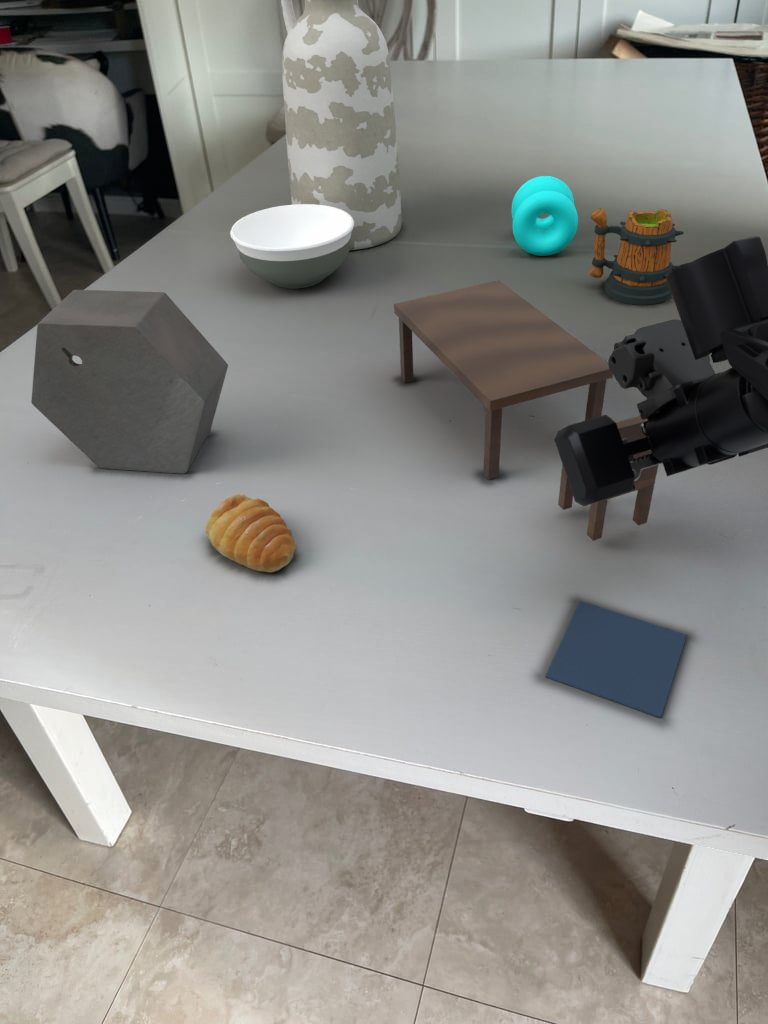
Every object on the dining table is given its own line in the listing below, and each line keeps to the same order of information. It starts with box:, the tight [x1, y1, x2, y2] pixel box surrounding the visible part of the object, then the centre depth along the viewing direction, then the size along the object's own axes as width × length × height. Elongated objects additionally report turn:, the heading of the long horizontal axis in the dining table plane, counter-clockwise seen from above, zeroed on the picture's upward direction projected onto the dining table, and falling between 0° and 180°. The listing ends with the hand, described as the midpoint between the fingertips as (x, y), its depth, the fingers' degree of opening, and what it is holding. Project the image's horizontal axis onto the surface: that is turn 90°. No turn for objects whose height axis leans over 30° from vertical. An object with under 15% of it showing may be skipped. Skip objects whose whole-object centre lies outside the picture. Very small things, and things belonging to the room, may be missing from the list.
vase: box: [280, 0, 403, 251], centre depth 129 cm, size 20×19×38 cm
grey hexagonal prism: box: [30, 289, 229, 475], centre depth 86 cm, size 17×8×21 cm
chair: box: [557, 415, 659, 542], centre depth 73 cm, size 6×6×12 cm
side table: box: [393, 279, 614, 481], centre depth 91 cm, size 24×14×10 cm, turn 22°
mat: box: [545, 601, 688, 719], centre depth 65 cm, size 9×9×1 cm
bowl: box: [229, 204, 354, 290], centre depth 124 cm, size 19×19×8 cm
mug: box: [588, 207, 684, 306], centre depth 113 cm, size 13×10×12 cm
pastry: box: [205, 494, 298, 573], centre depth 76 cm, size 9×7×4 cm
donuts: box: [511, 175, 579, 257], centre depth 128 cm, size 10×10×10 cm
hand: (618, 459), depth 72 cm, fingers closed on chair, 6 cm apart
